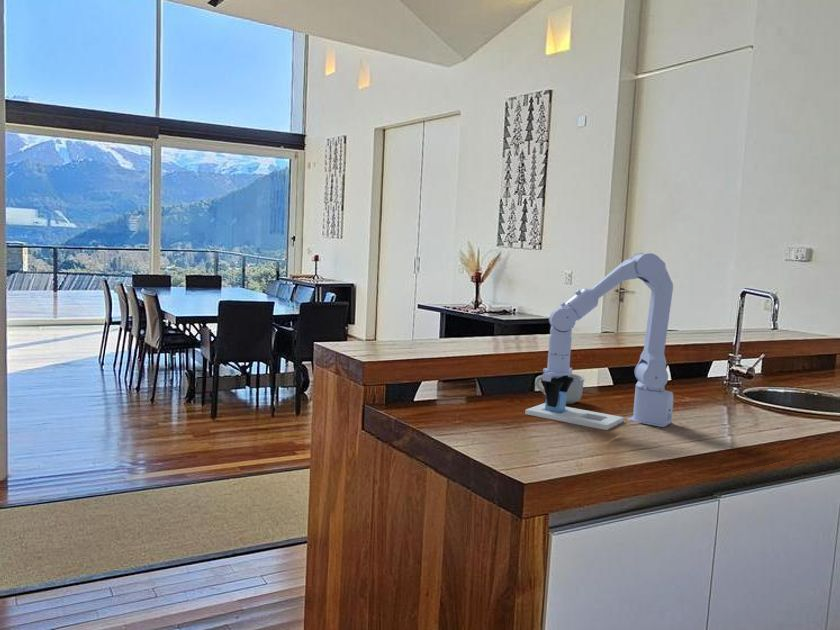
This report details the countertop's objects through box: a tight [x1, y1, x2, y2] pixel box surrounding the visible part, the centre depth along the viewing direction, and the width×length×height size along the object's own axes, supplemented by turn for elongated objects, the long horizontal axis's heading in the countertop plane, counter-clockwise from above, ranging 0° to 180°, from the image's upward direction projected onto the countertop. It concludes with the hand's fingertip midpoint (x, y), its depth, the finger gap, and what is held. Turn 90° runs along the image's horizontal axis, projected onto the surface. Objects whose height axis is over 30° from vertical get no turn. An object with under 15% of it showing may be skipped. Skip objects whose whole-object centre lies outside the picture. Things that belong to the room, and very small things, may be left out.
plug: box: [544, 391, 567, 413], centre depth 187 cm, size 4×4×6 cm
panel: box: [524, 402, 625, 431], centre depth 185 cm, size 22×12×2 cm, turn 55°
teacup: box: [534, 373, 585, 405], centre depth 205 cm, size 14×11×8 cm
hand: (555, 404), depth 187 cm, fingers open, 4 cm apart
